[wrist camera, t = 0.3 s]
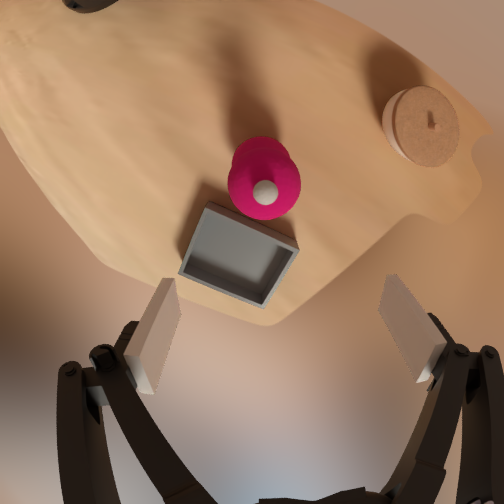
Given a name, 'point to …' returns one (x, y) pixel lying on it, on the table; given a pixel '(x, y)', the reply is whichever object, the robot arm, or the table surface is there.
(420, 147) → the lidded jar
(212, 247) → the bin
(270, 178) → the pepper mill
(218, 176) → the table surface
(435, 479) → the robot arm
